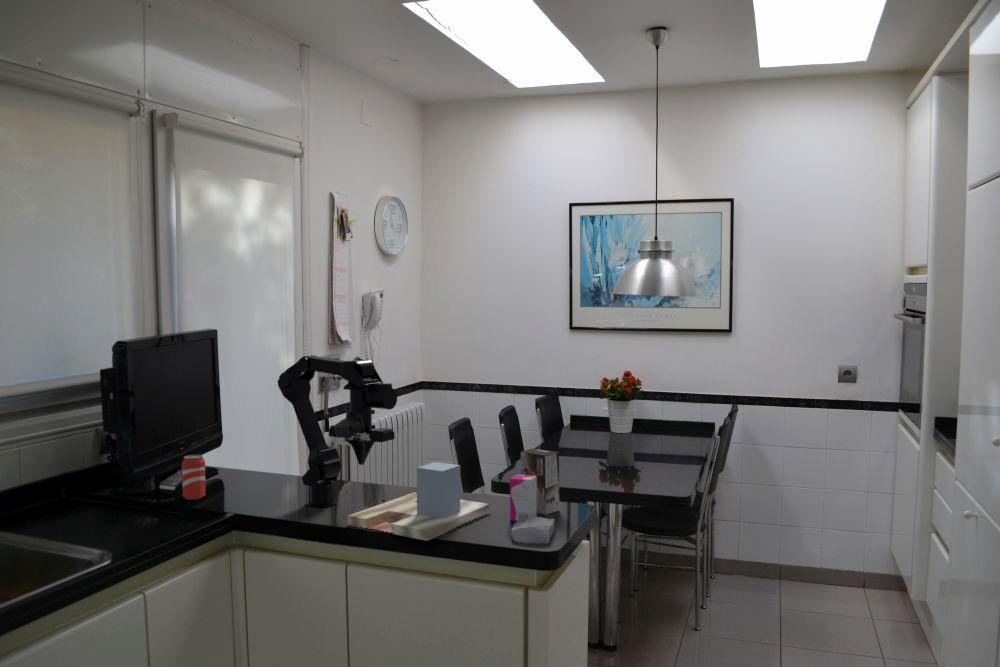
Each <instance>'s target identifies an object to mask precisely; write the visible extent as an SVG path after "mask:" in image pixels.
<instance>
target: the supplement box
mask: <svg viewBox="0 0 1000 667" xmlns="http://www.w3.org/2000/svg"><path fill="white" fill-rule="evenodd" d="M537 515H538V513H537V476H533V475H521V474H515V475H514V476H512V477H511V478H509V522H510V523H514V524H515V523H517V521H518V520H521V519H527V518H530V517H538V516H537Z"/></svg>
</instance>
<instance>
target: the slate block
mask: <svg viewBox="0 0 1000 667" xmlns="http://www.w3.org/2000/svg"><path fill="white" fill-rule="evenodd" d="M416 492H417V514H420V515H425V516H431V517H437V518H442V519H443V518H445V517H448V516H450V515H452V514H455V513H457V512H459V511H460V499H461V465H459V464H453V463H452V464H451V463H446V462H445V463H444V462H437V461H433V462H431V463H430V462H429V463H427V464H424V465H421V466H418V467H416Z"/></svg>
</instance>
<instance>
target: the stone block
mask: <svg viewBox="0 0 1000 667" xmlns="http://www.w3.org/2000/svg"><path fill="white" fill-rule="evenodd" d="M555 527H556V526H555V519H554V518H545V517H538V516H537V517H530V518H527V519H521V520H518V521H517V523H514V524H513V526H512V528H511V537H512V540H513V542H515V541H516V542H515V543H520V542H523V543H522V544H537V545H538V544H545V545H547V544H549V543H550V541H551V539H552V536H553V534H554V532H555Z"/></svg>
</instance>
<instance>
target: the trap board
mask: <svg viewBox="0 0 1000 667" xmlns="http://www.w3.org/2000/svg"><path fill="white" fill-rule="evenodd" d="M490 505H491V504H490V503H485V502H479V501H472V500H466V499H461V498H460V511H459V512H457V513H455V514H452V515H450V516H448V517H445V518H443V519H442V518H437V517H431V516H425V515H420V514H417V491H416V492H412V493H408V494H405V495H402V496H400V497H398V498H395V499H391V500H388V501H386V502H382V503H380V504H377V505H374V506H372V507H371V506H370V507H369V508H366V509H363V510H361V511H357V512H354V513H351V514H349V515H347V520H348V521H347V523H348V524H347V525H348V526H350V525H351V526H350V527H356V528H360V527H362V528H361V529H365V528H368V529H367V530H370V529H374V530H373V531H375V530H380V531H384V532H383V533H385V532H388V533H387V534H390V533H393V534H392V535H396V536H401V537H406V538H411V539H416V540H421V541H425V542H426V541H427V542H428V541H431V540H433V539H435V538H437V537H439V536H442V535H444V534H446V533H448V531H449V532H450V530H451V531H453V530H455V529H457V528H456V527H458V526H460V525H462V524H464V523H467V522H469V521H471V522H473V521H475V520H474V519H476V518H478V519H479V517H480V518H482V517H484V515H485V516H486V514H487V515H489V514H490V513H491V512H490V511H491V510H490V508H491V507H490ZM481 516H482V517H481ZM387 519H392V520H393V521H394V522H393V521H391V523H388V522H390V521H388V522H387V521H386V520H387ZM395 520H398V521H397V522H396V521H395ZM472 520H473V521H472ZM476 520H477V519H476ZM382 521H383V522H382ZM384 521H385V522H384ZM469 523H470V522H469ZM467 524H468V523H467ZM464 525H465V524H464ZM462 526H463V525H462ZM460 527H461V526H460ZM454 528H455V529H454ZM458 528H459V527H458ZM452 529H453V530H452ZM380 531H379V532H380Z"/></svg>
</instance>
